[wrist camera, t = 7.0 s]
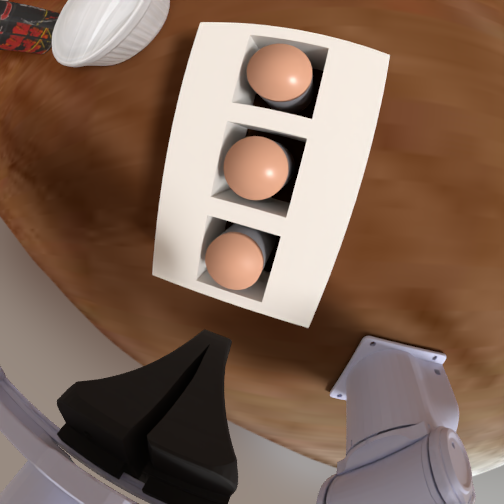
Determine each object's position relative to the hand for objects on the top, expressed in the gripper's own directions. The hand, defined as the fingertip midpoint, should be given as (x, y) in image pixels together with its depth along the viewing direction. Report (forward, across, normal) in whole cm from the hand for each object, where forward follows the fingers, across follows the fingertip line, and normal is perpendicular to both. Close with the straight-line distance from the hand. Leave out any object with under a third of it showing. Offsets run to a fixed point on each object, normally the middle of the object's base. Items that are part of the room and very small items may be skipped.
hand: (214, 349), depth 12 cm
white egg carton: (+10, +1, -8) cm, 13 cm away
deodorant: (+10, +32, -21) cm, 40 cm away
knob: (+10, +1, -13) cm, 16 cm away
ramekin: (+10, +17, -19) cm, 28 cm away
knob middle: (+10, +1, -8) cm, 12 cm away
